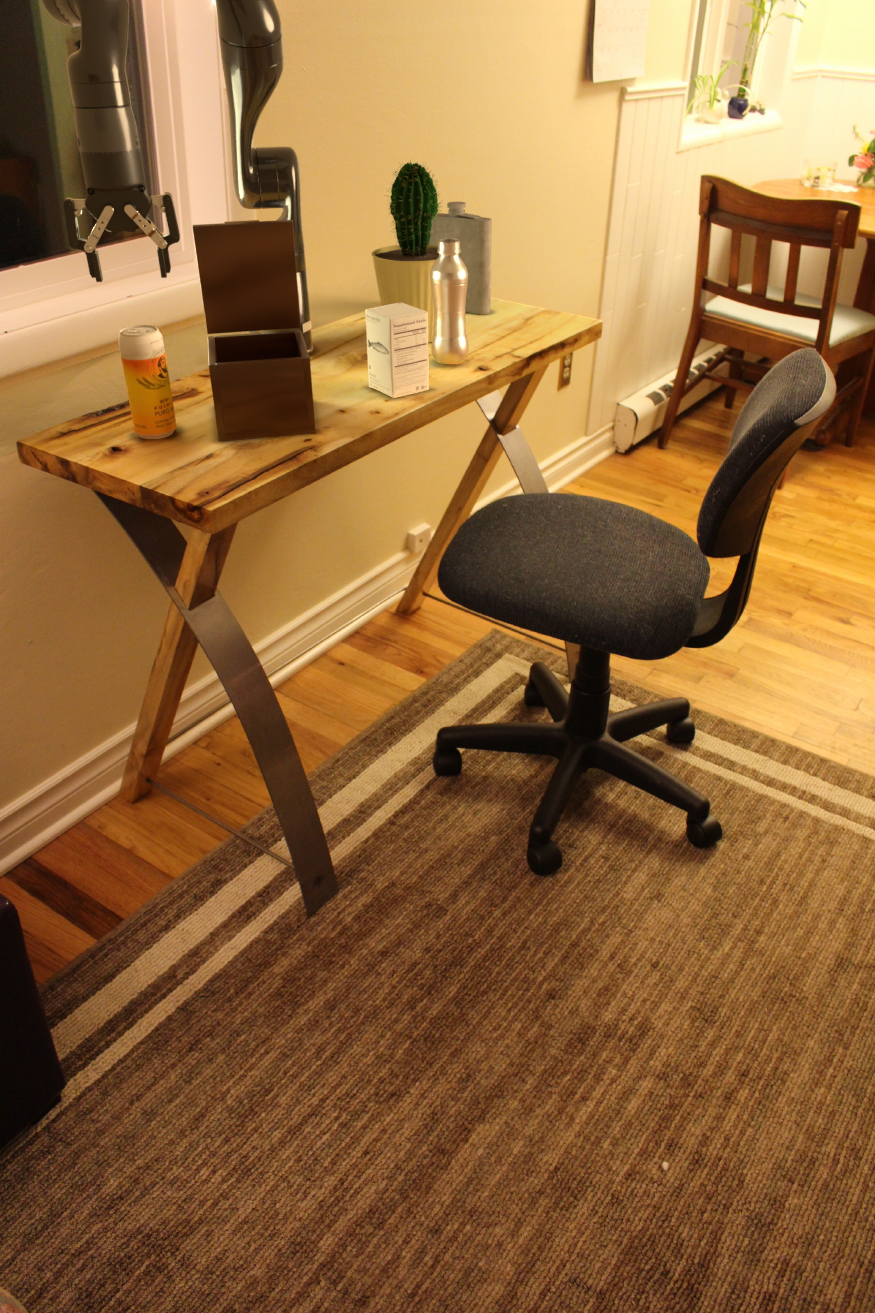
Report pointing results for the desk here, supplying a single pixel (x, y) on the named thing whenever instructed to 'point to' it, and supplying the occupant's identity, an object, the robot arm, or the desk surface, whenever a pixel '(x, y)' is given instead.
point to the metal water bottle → (449, 304)
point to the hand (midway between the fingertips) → (132, 278)
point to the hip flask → (469, 251)
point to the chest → (261, 385)
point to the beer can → (147, 381)
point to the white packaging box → (397, 349)
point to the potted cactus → (410, 243)
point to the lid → (247, 275)
